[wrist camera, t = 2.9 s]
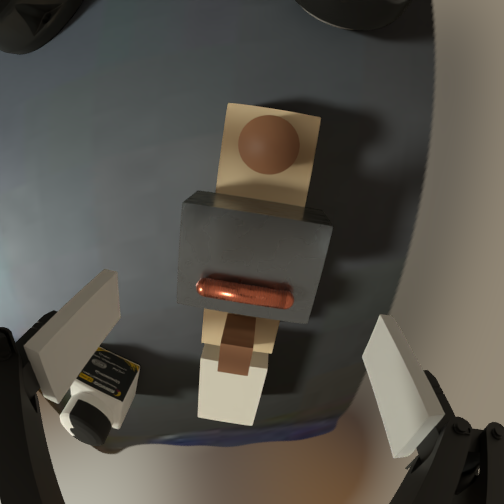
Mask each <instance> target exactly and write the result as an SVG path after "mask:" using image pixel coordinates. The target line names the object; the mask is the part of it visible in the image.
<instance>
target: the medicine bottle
mask: <svg viewBox="0 0 504 504" xmlns="http://www.w3.org/2000/svg"><path fill="white" fill-rule="evenodd" d="M139 372H140V365H138V364H136V363H134V362H132V361H129V360H127V359H125V358H123V357H121V356H118V355H116V354H114V353H112V352H110V351H108V350H106V349H104V348H102V347H100V346H99V347H98V348H97V350H96V351H95V353H94V354H93V355H92V357H91V358H90V359H89V361H88V362H87V364H86V365H85V366H84V368H83V369H82V371H81V372H80V373H79V375H78V376H77V378H76V379H75V381H74V382H73V384H72V385H71V395H72V397H71V398H70V400H69V402H68V403H67V405H66V406H65V408H64V410H63V411H62V413H61V414H60V421H61V423H62V425H63V426H64V428H65V429H66V430H67V431H68V432H69V433H70V434H71V435H72V436H73V437H75V438H76V439H78V440H80V441H81V442H84V443H86V444H89V445H93V446H100V445H103V444H104V443H105V440H106V438H107V436H108V434H109V432H110V430H111V427H114V428H116V429H119V428H120V427H121V425H122V422H123V420H124V418H125V416H126V414H127V411H128V409H129V407H130V405H131V403H132V400H133V398H134V396H135V393H136V387H137V382H138V377H139Z"/></svg>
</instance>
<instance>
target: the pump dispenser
mask: <svg viewBox="0 0 504 504" xmlns="http://www.w3.org/2000/svg"><path fill="white" fill-rule="evenodd" d="M295 1H296V2H297V3H298V4H299V5H300V6H301V7H302V8H303V9H304V10H305V11H306V12H308V13H309V14H310V15H312V16H313V17H315V18H316V19H318V20H320V21H322V22H324V23H326V24H329V25H331V26H335V27H338V28H343V29H351V30H373V29H378V28H382V27H385V26H387V25H389V24H391V23H392V22H394V21H395V20H396V19H397V18H399V17H400V16H401V15H402V14H403V12H404V11H405V10H406V8H407V7H408V6H409V4H410V2H411V1H412V0H295Z"/></svg>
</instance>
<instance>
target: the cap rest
mask: <svg viewBox="0 0 504 504" xmlns="http://www.w3.org/2000/svg"><path fill="white" fill-rule="evenodd" d="M219 352H220V346H218V345H212V344H207V343H205V345H204V349H203V352H202V355H201V361H200V379H199V399H198V417H200V418H206V419H211V420H217V421H223V422H229V423H236V424H243V425H250V426H252V425H253V421H254V418H255V414H256V411H257V407H258V403H259V400H260V396H261V392H262V389H263V385H264V381H265V377H266V374H267V370H268V353H263V352H256V351H253V353H252V357H251V362H250V367H249V372H248V376H243V375H236V374H230V373H224V372H218V371H217V370H218V361H219Z"/></svg>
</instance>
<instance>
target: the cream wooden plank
mask: <svg viewBox="0 0 504 504" xmlns="http://www.w3.org/2000/svg"><path fill="white" fill-rule="evenodd" d="M320 121H321V117H316V116H311V115H306V114H301V113H295V112H290V111H284V110H278V109H272V108H265V107H258V106H251V105H243V104H234V103H228V106H227V113H226V119H225V126H224V133H223V140H222V147H221V155H220V162H219V170H218V178H217V186H216V193H220V194H227V195H234V196H240V197H247V198H253V199H260V200H266V201H272V202H278V203H284V204H290V205H296V206H301V207H305V204H306V199H307V193H308V188H309V183H310V178H311V172H312V167H313V161H314V156H315V150H316V144H317V139H318V133H319V127H320ZM279 322H280V320H273V319H266V318H259V317H253V316H246V315H240V314H234V313H228V312H222V311H216V310H211V309H205V308H204V316H203V330H202V343H207V344H212V345H218V346H220V352H219V361H218V370H217V371H218V372H224V373H230V374H236V375H243V376H248V372H249V367H250V362H251V357H252V353H253V351H256V352H263V353H270V354H272V350H273V346H274V342H275V338H276V334H277V330H278V326H279Z"/></svg>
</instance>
